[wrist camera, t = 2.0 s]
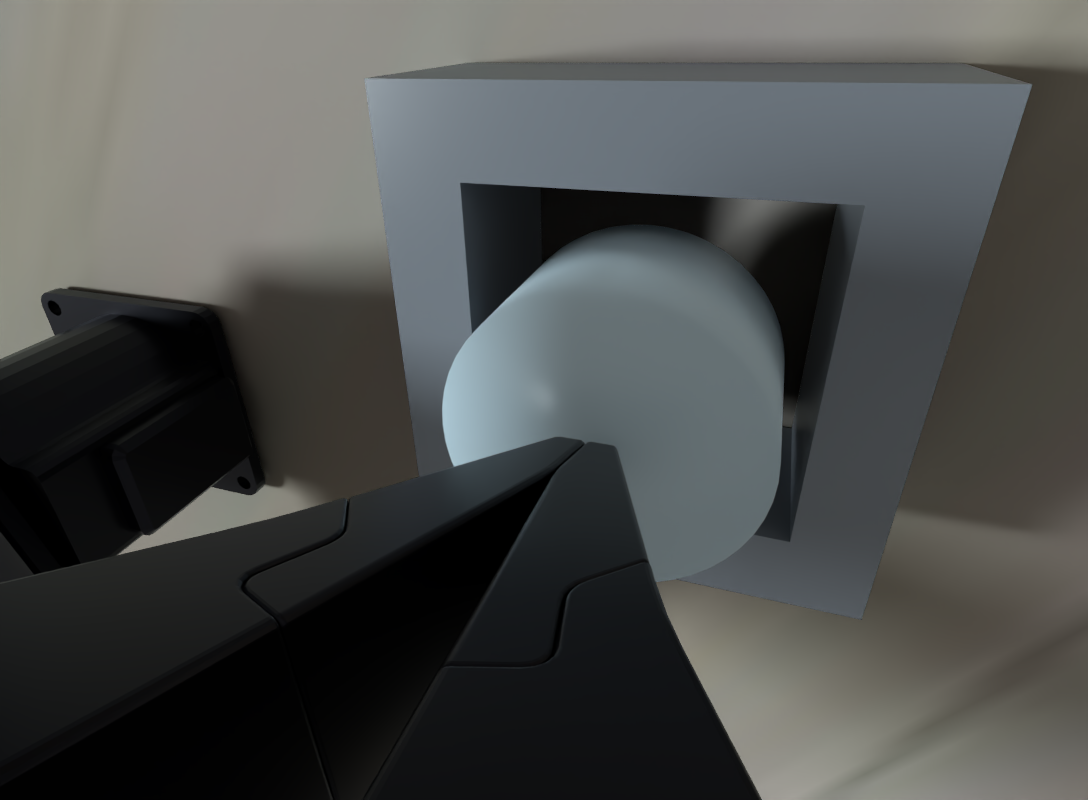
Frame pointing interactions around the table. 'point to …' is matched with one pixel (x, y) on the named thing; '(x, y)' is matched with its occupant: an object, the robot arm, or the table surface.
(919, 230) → the button box
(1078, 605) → the table surface
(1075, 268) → the table surface
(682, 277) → the button
